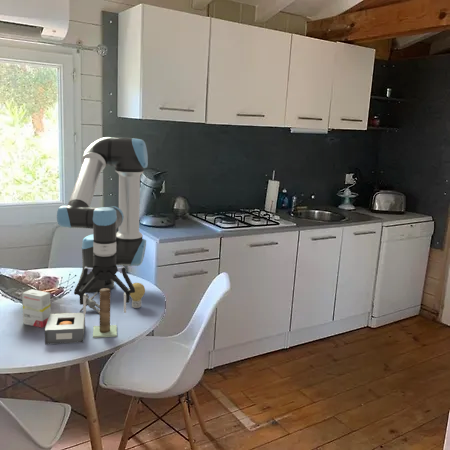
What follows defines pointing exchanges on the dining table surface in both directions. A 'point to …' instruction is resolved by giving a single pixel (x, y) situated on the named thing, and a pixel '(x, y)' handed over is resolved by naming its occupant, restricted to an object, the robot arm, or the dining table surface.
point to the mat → (109, 334)
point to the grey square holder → (65, 328)
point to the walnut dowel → (104, 310)
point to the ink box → (36, 308)
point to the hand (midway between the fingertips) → (104, 312)
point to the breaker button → (65, 322)
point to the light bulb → (137, 295)
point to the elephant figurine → (91, 303)
